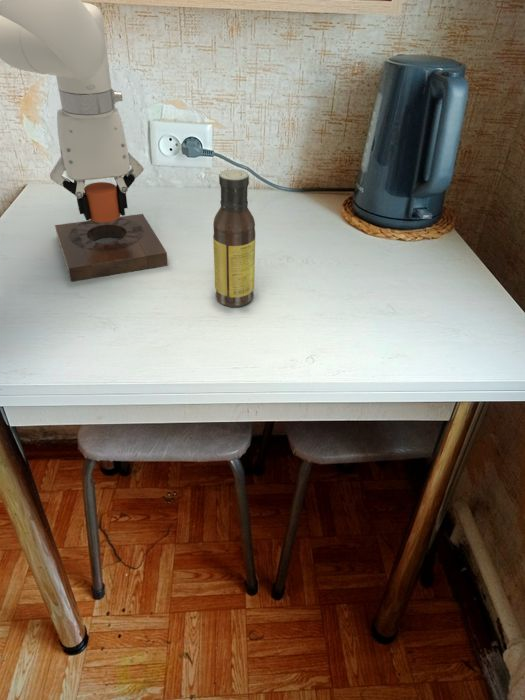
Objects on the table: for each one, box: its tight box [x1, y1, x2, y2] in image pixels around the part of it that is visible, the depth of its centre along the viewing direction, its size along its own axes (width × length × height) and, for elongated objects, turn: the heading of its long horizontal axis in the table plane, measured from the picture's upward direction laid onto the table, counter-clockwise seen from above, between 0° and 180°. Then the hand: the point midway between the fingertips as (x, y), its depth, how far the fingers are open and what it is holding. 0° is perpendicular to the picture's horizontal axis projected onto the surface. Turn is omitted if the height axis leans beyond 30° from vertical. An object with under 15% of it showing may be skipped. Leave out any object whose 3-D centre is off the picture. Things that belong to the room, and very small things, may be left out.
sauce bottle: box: [212, 169, 256, 308], centre depth 75 cm, size 6×6×20 cm
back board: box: [54, 213, 169, 282], centre depth 90 cm, size 16×16×2 cm
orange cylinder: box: [84, 181, 121, 223], centre depth 87 cm, size 5×5×5 cm
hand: (104, 213), depth 88 cm, fingers closed on orange cylinder, 5 cm apart
